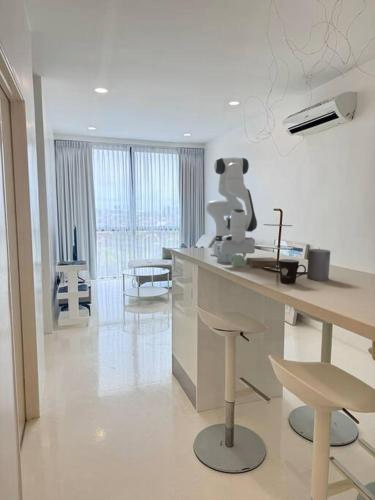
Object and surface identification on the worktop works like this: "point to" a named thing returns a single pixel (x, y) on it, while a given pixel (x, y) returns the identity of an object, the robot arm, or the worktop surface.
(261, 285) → the worktop surface
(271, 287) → the worktop surface
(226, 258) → the light bulb box
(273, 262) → the walnut plinth
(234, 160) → the robot arm
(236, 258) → the sage block
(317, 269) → the pillar candle
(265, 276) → the worktop surface
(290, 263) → the coffee mug
